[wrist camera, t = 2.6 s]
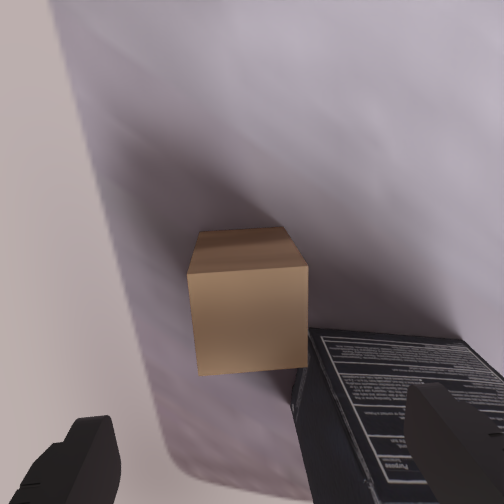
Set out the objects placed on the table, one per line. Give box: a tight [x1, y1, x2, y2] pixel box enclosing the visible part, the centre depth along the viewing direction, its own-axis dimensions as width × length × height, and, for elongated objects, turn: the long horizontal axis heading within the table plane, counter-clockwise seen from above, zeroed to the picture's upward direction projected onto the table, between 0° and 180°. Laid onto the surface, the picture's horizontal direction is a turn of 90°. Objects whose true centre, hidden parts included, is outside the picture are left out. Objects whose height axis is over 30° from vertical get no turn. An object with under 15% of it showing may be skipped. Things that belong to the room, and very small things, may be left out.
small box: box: [290, 328, 504, 504], centre depth 17 cm, size 11×6×10 cm, turn 83°
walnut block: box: [187, 227, 308, 376], centre depth 16 cm, size 4×4×6 cm
